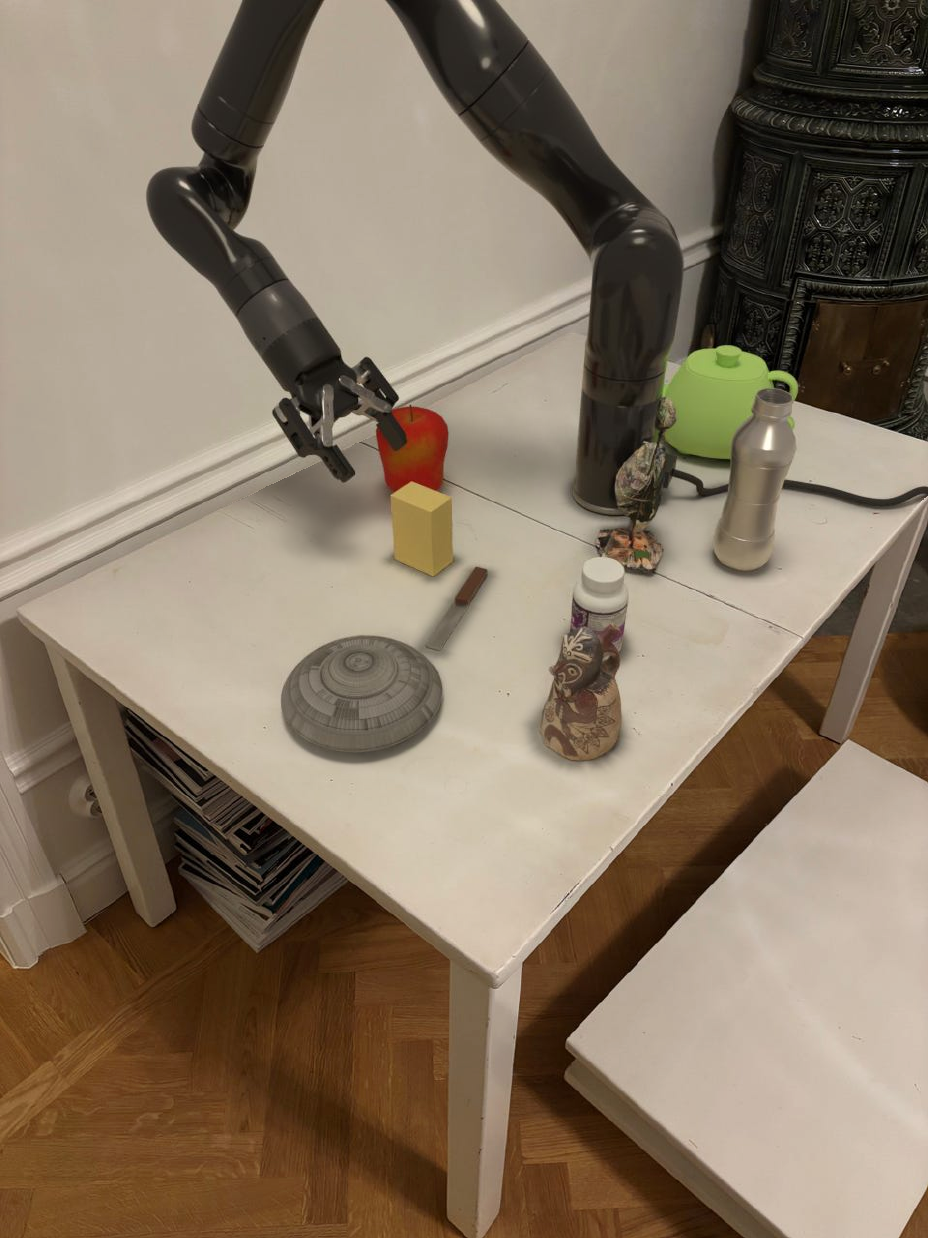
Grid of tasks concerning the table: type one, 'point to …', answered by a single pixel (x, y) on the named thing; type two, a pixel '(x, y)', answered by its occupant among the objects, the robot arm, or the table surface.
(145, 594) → the table surface
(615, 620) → the pill bottle
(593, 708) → the figurine
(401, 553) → the butter portion
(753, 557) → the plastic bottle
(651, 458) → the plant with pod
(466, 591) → the butter knife
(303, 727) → the flying saucer
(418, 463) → the apple
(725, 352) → the teapot
